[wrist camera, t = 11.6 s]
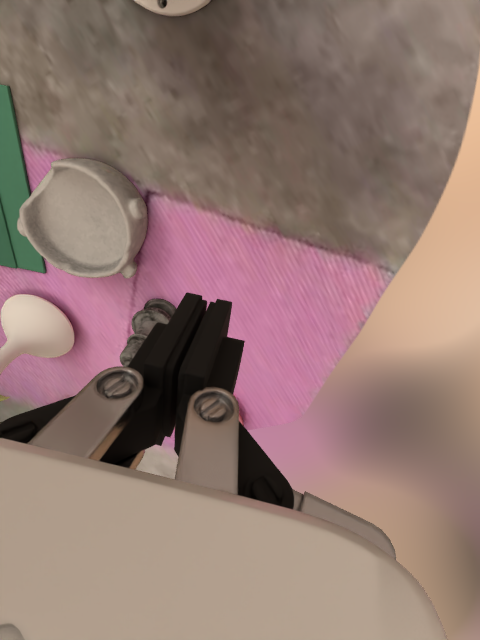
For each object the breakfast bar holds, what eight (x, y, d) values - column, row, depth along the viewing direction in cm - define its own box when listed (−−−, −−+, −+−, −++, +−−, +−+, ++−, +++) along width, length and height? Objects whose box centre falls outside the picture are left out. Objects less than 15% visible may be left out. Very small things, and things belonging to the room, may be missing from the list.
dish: (34, 229, 45) (7, 243, 41) (57, 126, 37) (26, 130, 33) (133, 286, 47) (117, 304, 43) (173, 200, 40) (158, 212, 36)
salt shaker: (136, 297, 48) (92, 349, 38) (175, 295, 47) (140, 348, 37) (148, 331, 51) (110, 388, 41) (185, 330, 50) (155, 388, 40)
